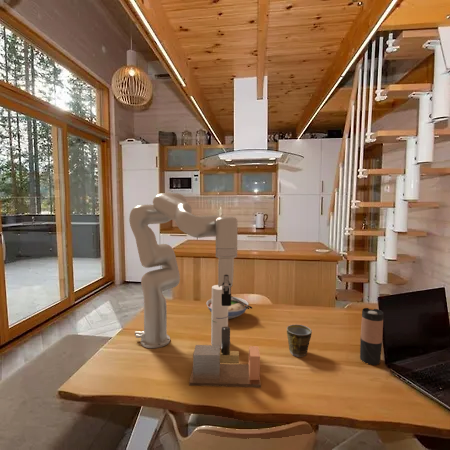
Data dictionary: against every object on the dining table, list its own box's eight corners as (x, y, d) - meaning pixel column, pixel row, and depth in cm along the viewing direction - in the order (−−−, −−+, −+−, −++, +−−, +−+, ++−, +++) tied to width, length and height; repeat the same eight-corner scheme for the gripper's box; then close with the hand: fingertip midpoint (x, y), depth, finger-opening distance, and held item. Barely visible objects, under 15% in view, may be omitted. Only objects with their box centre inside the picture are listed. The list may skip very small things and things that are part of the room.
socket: (249, 379, 102) (250, 356, 102) (248, 368, 109) (249, 346, 109) (259, 380, 102) (260, 356, 102) (257, 368, 109) (258, 346, 109)
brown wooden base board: (189, 385, 100) (189, 358, 100) (193, 365, 112) (193, 341, 112) (260, 387, 100) (261, 360, 99) (257, 367, 112) (258, 343, 111)
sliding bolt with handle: (194, 362, 104) (194, 329, 103) (195, 358, 107) (195, 325, 106) (238, 363, 104) (239, 330, 103) (238, 359, 107) (239, 326, 106)
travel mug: (372, 367, 113) (375, 316, 111) (355, 357, 120) (357, 309, 118) (385, 362, 116) (388, 312, 115) (367, 353, 123) (370, 306, 121)
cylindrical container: (225, 348, 126) (226, 290, 124) (209, 346, 127) (210, 288, 125) (228, 340, 133) (229, 285, 131) (213, 338, 134) (214, 284, 132)
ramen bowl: (199, 311, 166) (199, 297, 166) (235, 305, 176) (235, 292, 175) (216, 329, 144) (217, 313, 143) (257, 321, 153) (258, 306, 153)
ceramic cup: (290, 344, 130) (291, 322, 129) (313, 351, 125) (314, 327, 124) (279, 358, 118) (280, 334, 118) (305, 365, 113) (306, 340, 113)
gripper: (216, 248, 112) (216, 293, 113) (214, 257, 95) (214, 309, 96) (236, 248, 112) (236, 293, 113) (238, 257, 95) (237, 309, 96)
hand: (226, 300), depth 105 cm, fingers open, 9 cm apart
